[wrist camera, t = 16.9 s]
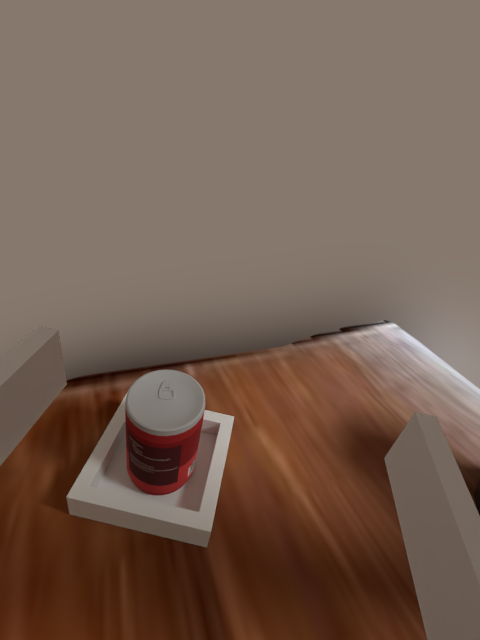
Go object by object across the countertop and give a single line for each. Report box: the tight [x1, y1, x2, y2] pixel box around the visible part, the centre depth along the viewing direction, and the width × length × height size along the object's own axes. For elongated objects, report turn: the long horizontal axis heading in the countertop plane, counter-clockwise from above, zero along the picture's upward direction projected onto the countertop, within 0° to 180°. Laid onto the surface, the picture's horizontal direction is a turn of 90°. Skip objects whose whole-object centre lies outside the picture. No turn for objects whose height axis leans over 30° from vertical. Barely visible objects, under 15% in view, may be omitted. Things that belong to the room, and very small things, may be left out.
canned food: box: [125, 370, 205, 495], centre depth 36 cm, size 8×8×11 cm
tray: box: [66, 394, 234, 548], centre depth 39 cm, size 14×14×3 cm
